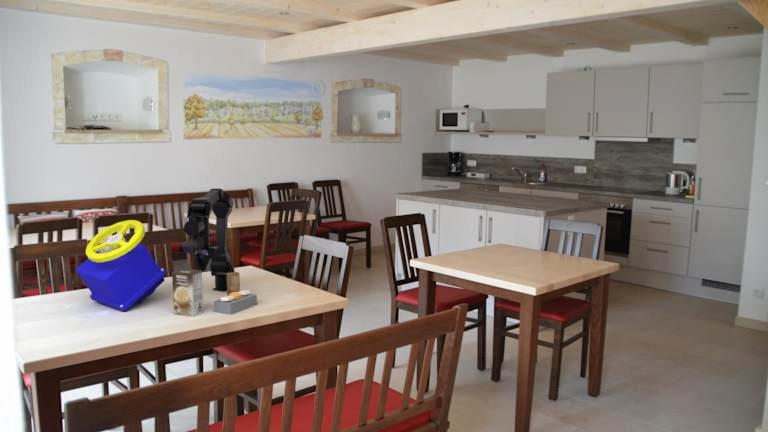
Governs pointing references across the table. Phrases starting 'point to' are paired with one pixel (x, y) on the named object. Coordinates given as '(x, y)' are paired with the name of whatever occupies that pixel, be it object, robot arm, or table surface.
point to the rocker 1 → (227, 298)
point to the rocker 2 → (244, 292)
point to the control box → (120, 267)
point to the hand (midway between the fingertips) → (203, 271)
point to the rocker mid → (235, 295)
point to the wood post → (233, 282)
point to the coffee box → (187, 292)
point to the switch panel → (235, 304)
